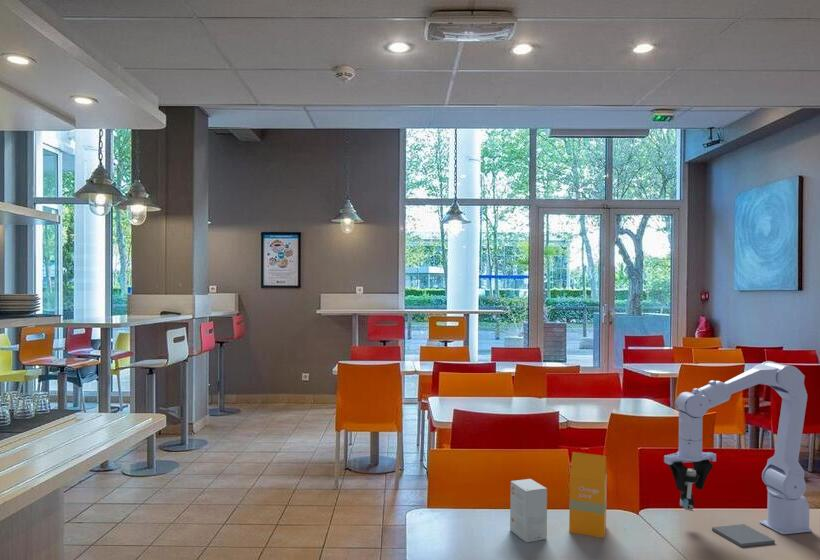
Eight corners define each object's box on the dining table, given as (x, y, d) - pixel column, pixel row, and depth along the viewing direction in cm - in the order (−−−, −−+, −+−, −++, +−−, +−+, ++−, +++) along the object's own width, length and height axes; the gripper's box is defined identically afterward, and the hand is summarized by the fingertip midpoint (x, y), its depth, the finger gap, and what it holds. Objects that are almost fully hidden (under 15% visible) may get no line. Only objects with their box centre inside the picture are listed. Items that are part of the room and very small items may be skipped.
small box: (547, 539, 151) (547, 488, 151) (525, 543, 149) (526, 491, 149) (530, 526, 159) (530, 478, 159) (509, 530, 157) (509, 480, 157)
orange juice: (604, 538, 153) (605, 459, 153) (568, 532, 156) (569, 455, 156) (606, 526, 160) (607, 451, 160) (572, 520, 163) (573, 447, 163)
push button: (701, 514, 156) (704, 476, 155) (680, 512, 156) (683, 474, 156) (692, 503, 163) (695, 467, 162) (672, 501, 163) (675, 465, 163)
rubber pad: (744, 527, 160) (744, 524, 160) (774, 543, 150) (774, 540, 150) (712, 530, 158) (712, 527, 158) (741, 547, 148) (741, 543, 148)
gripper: (703, 433, 165) (702, 482, 165) (657, 435, 161) (656, 485, 161) (722, 439, 158) (721, 491, 158) (674, 442, 154) (673, 495, 155)
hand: (689, 489), depth 159 cm, fingers closed on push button, 5 cm apart
